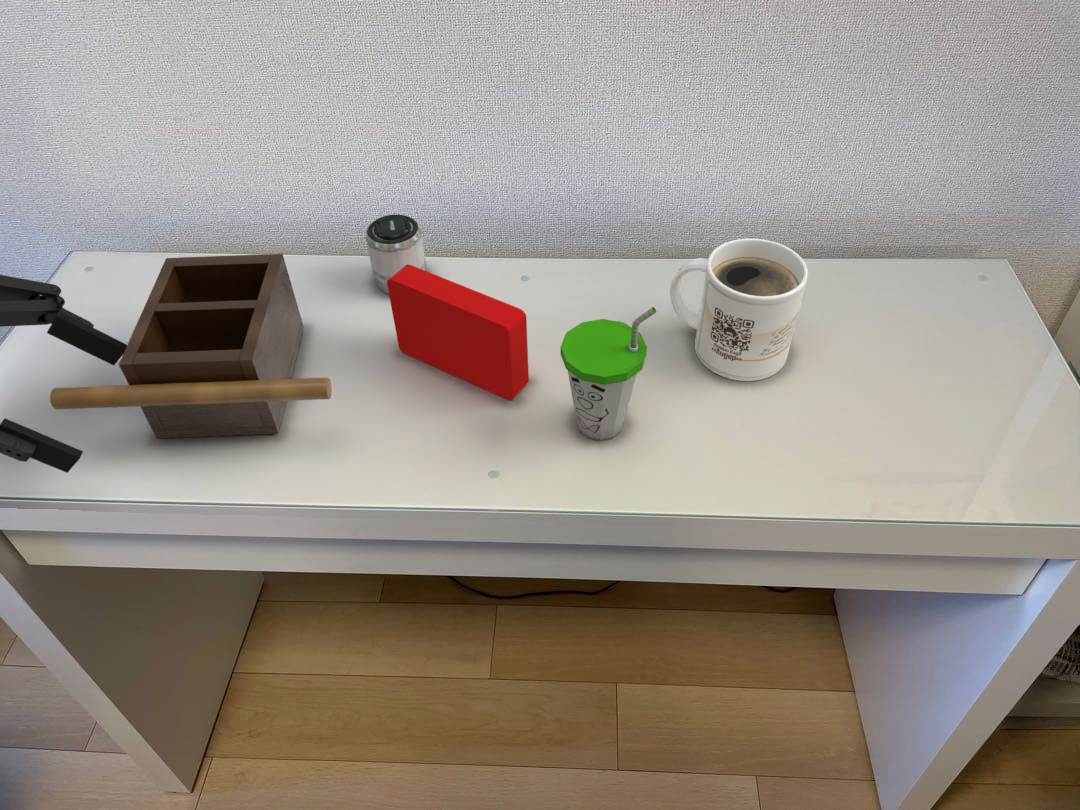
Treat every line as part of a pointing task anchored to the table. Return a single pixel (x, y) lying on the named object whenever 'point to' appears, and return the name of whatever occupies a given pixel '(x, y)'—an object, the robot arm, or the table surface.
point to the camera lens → (394, 246)
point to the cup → (603, 372)
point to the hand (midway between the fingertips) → (100, 405)
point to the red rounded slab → (460, 331)
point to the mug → (745, 307)
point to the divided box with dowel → (211, 351)
